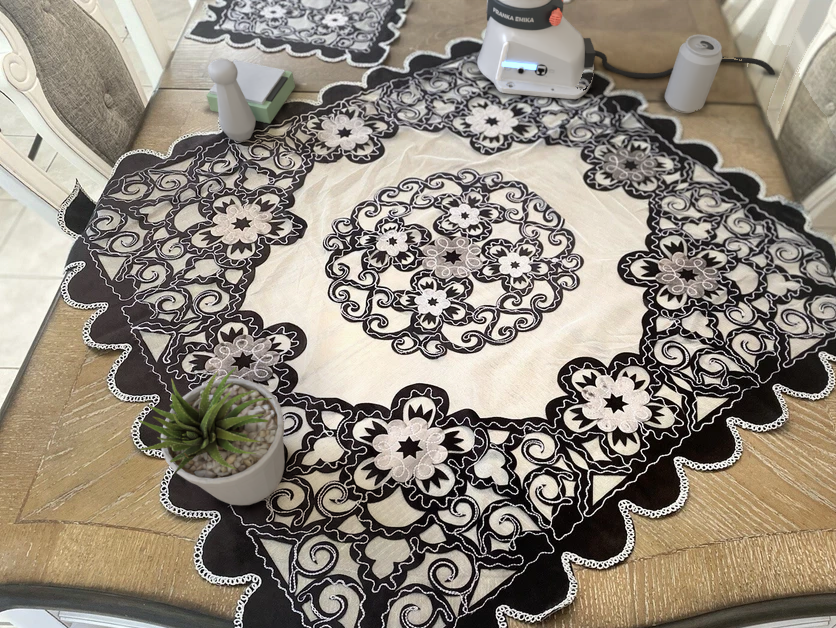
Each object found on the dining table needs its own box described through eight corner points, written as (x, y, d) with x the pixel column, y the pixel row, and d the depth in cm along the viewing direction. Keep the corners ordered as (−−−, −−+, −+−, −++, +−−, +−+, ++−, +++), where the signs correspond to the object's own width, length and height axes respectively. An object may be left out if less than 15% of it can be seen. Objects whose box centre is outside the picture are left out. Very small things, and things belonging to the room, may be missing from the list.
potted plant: (191, 428, 84) (132, 336, 67) (304, 424, 85) (272, 332, 69) (174, 525, 77) (103, 450, 60) (296, 520, 78) (260, 444, 62)
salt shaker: (262, 125, 116) (245, 55, 105) (253, 146, 113) (234, 77, 102) (229, 121, 116) (208, 51, 105) (218, 142, 113) (196, 72, 102)
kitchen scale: (295, 86, 122) (291, 68, 119) (270, 123, 116) (265, 105, 113) (238, 74, 123) (233, 56, 120) (210, 110, 117) (205, 92, 114)
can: (711, 107, 126) (734, 48, 116) (682, 120, 124) (704, 60, 114) (683, 86, 130) (704, 26, 120) (654, 98, 127) (673, 38, 117)
